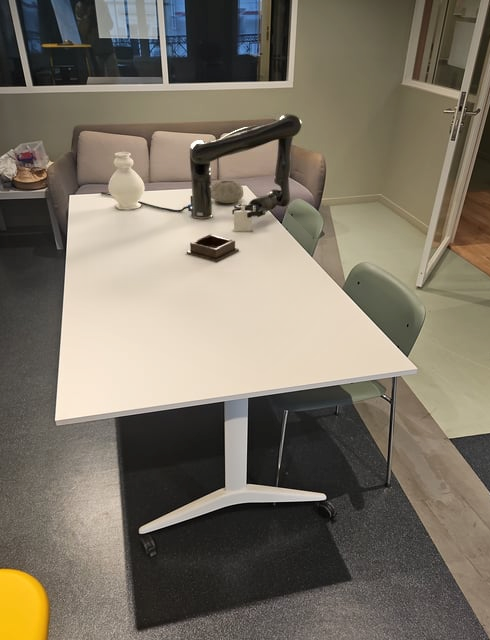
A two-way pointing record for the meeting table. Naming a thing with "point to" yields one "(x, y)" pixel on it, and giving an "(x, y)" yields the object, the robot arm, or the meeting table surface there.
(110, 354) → the meeting table surface
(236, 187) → the decorative shell
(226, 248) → the bottle stand
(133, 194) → the decorative vase
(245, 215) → the perfume bottle
